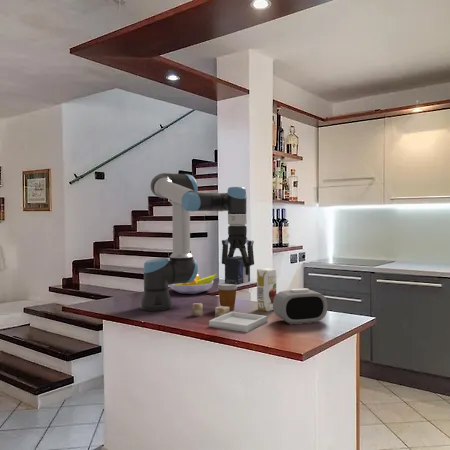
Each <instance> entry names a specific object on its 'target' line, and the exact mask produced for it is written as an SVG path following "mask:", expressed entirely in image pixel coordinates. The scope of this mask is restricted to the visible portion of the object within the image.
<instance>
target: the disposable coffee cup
mask: <svg viewBox="0 0 450 450" xmlns="http://www.w3.org/2000/svg"><path fill="white" fill-rule="evenodd" d="M217 289H218V298H219V303H220V304H219V306H226V307H229V309H230V312H233V311H235V307H236V306H235V304H236V295H237V289H238V285H234V284H225V282H219V283H218V284H217Z"/></svg>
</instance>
